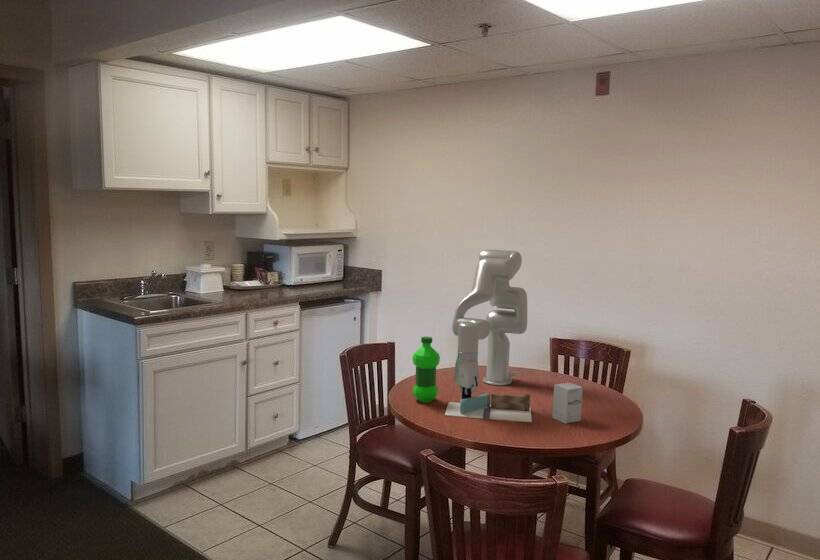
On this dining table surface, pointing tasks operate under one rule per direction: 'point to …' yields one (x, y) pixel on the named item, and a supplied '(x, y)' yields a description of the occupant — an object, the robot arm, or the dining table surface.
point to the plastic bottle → (425, 371)
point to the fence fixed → (510, 402)
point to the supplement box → (567, 402)
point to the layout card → (490, 413)
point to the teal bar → (474, 403)
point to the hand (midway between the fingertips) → (466, 403)
